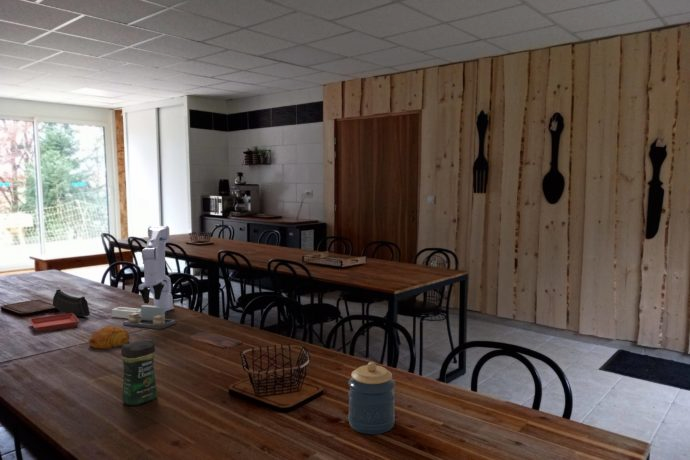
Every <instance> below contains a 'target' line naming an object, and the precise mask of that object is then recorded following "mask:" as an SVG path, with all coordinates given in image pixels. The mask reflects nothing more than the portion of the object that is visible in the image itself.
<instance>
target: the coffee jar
mask: <svg viewBox="0 0 690 460" xmlns="http://www.w3.org/2000/svg"><path fill="white" fill-rule="evenodd" d="M155 355H156V347H155V342H154V341H153V340H151V339H149V338H144V339H141V340H138V341H137V340H136V341H133V342H128V343H127V344H124V345H121V352H120V358H121V361H122V365H123V377H122V378H123V382H122V394H121V395H122V396H121V397H122V402H123V403H124V404H125V405H128V406H138V405H141V404H143V403H146V402H150V401H152V400H154V399H156V397H157V396H158V390H157V383H156V382H157V381H156V377H155V367H154V360H155Z"/></svg>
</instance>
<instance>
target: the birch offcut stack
mask: <svg viewBox="0 0 690 460" xmlns="http://www.w3.org/2000/svg"><path fill="white" fill-rule="evenodd" d="M127 320H128V322H137V323H140V313H132V314H129V319H128V318H127Z"/></svg>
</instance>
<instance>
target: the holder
mask: <svg viewBox="0 0 690 460" xmlns="http://www.w3.org/2000/svg"><path fill="white" fill-rule="evenodd" d="M110 312H111V316H110V317H112V318H119V319H127V320H128V319H129V314H132V313H140V316H141V308H135V307H124V306H118V307H115V308H111V311H110Z"/></svg>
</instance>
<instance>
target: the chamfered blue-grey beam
mask: <svg viewBox="0 0 690 460" xmlns="http://www.w3.org/2000/svg"><path fill="white" fill-rule="evenodd" d="M140 309H141V319H143V320H153V317H155V316H157V315H161V316H164V321H165V319H166V312H165V307H160V306H154V305H148V304H143V305H141V306H140Z"/></svg>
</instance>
